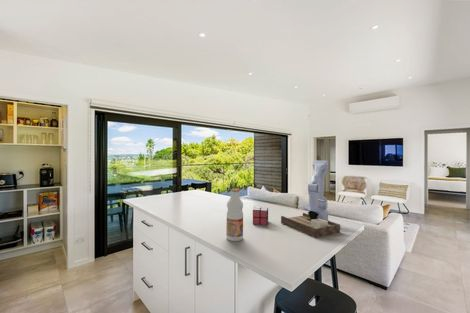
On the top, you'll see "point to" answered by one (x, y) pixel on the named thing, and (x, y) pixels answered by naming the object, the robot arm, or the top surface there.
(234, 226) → the fruit juice
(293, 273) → the top surface
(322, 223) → the cream block
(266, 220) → the puzzle cube
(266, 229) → the top surface
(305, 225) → the trap box
